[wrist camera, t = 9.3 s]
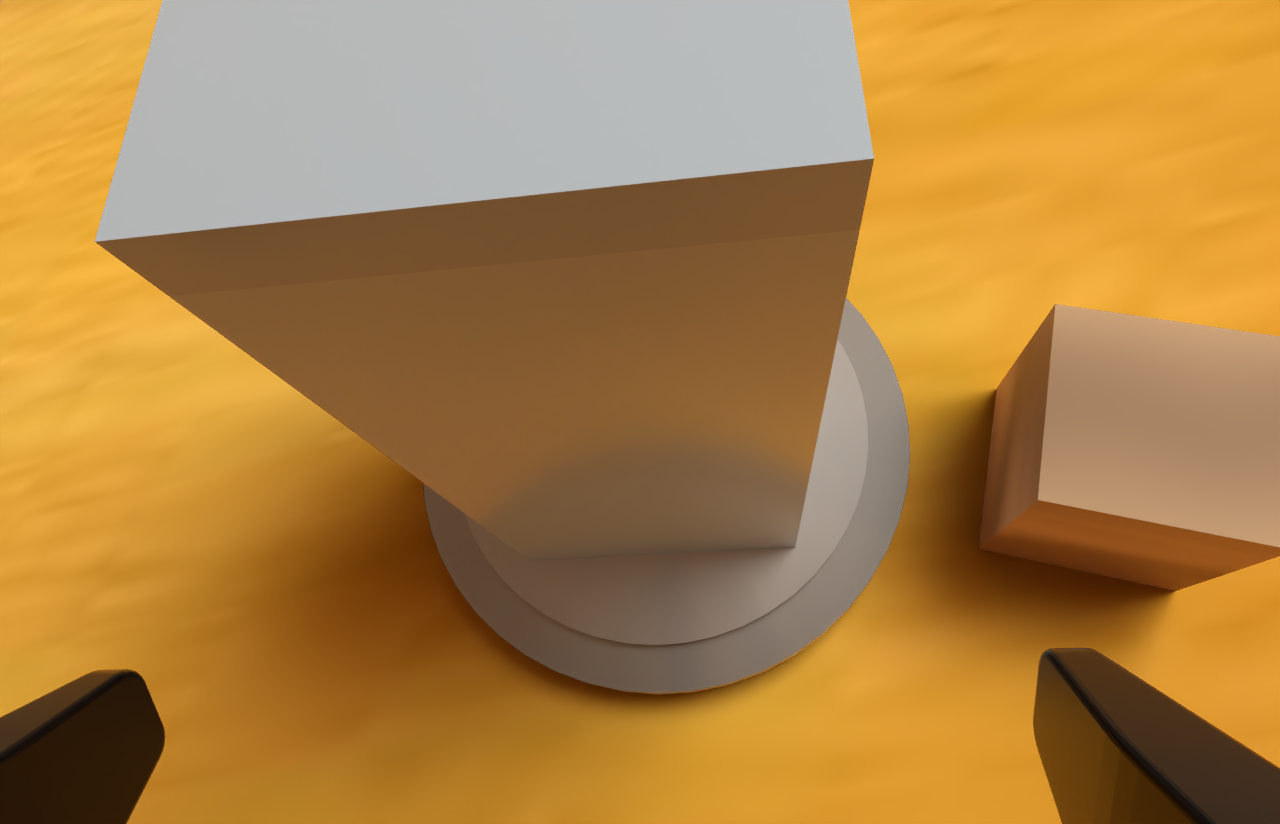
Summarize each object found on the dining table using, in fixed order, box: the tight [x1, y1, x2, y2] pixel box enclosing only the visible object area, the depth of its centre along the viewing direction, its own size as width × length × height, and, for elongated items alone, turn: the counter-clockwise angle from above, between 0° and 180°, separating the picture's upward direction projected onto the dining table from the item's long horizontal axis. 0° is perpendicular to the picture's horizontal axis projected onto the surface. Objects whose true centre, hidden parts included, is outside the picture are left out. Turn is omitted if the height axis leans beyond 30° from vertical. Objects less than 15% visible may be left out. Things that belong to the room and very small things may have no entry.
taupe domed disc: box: [423, 298, 910, 695], centre depth 18 cm, size 11×11×1 cm
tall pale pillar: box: [95, 0, 874, 561], centre depth 12 cm, size 6×6×12 cm
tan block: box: [978, 304, 1280, 591], centre depth 15 cm, size 4×4×4 cm
